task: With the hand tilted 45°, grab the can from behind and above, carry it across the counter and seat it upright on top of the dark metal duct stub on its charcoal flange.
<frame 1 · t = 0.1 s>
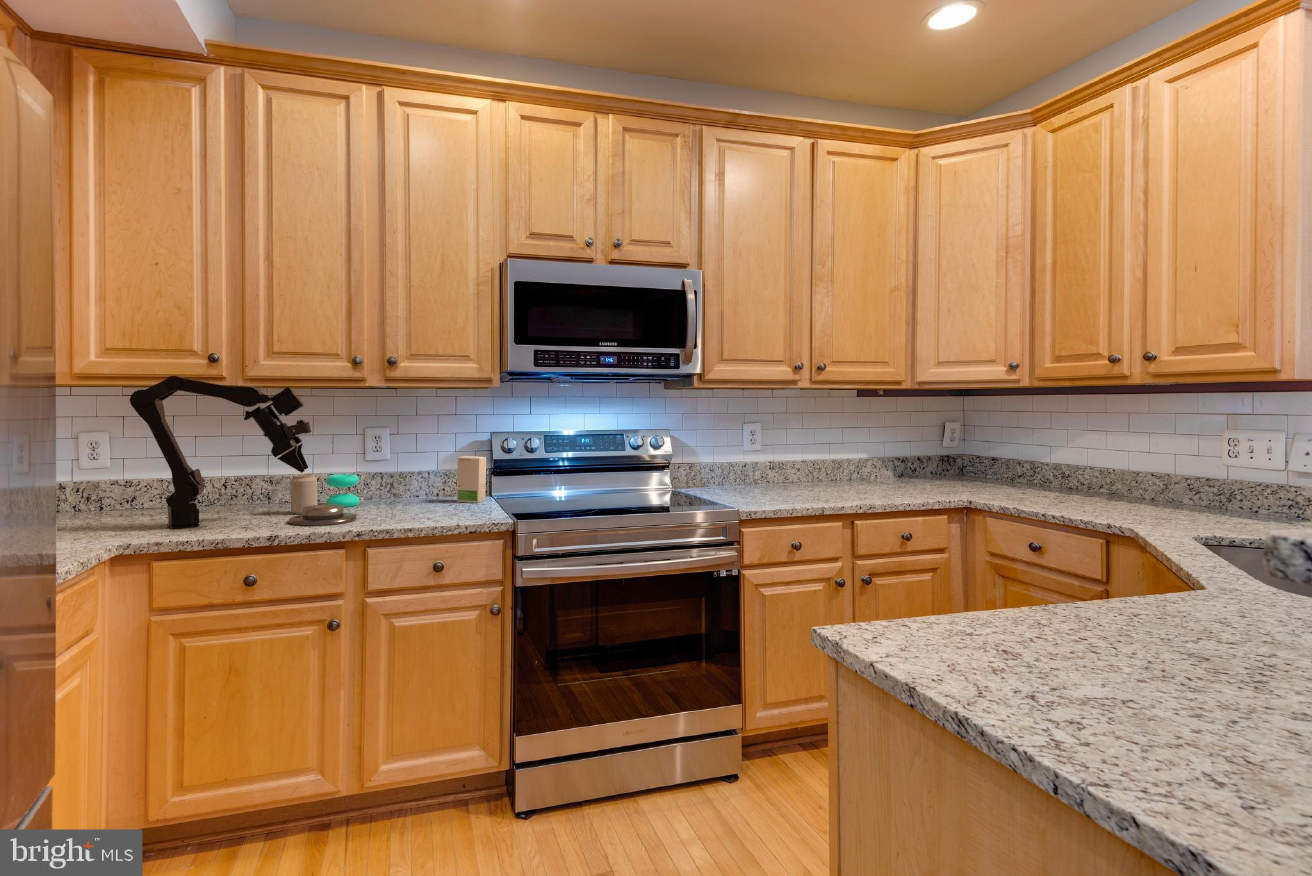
hand: (305, 470, 216), 15 cm above the table, tool tilted 35°, fingers open, 9 cm apart
skincare box: (471, 502, 258), on the table
can: (304, 513, 231), on the table
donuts: (343, 506, 246), on the table
duct stub: (323, 520, 218), on the table
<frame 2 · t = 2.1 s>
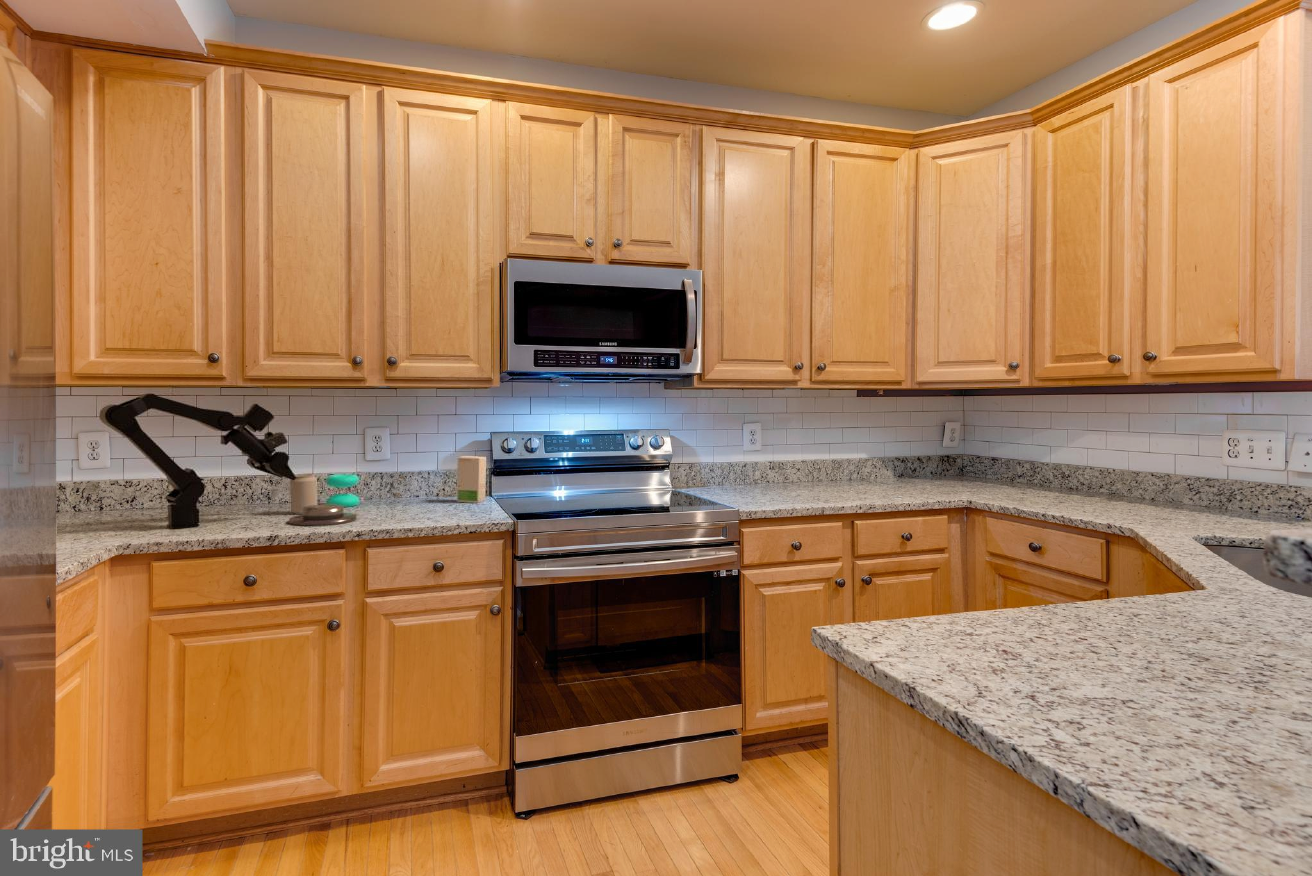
hand: (288, 477, 227), 11 cm above the table, tool tilted 45°, fingers open, 9 cm apart
nothing on the table moved.
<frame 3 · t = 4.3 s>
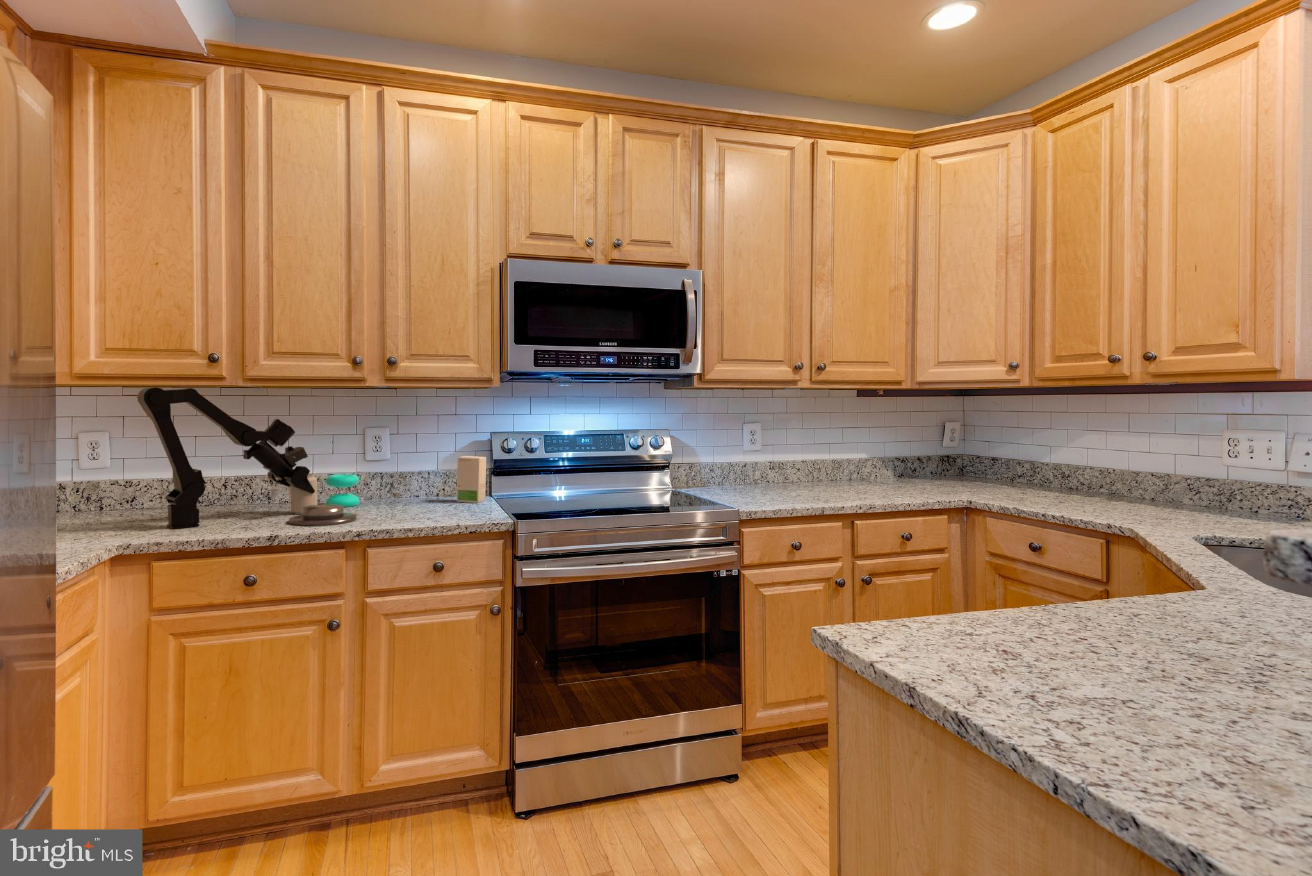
hand: (308, 491, 232), 7 cm above the table, tool tilted 45°, fingers closed on can, 7 cm apart
can: (304, 513, 231), on the table, touching gripper
everything else where it was.
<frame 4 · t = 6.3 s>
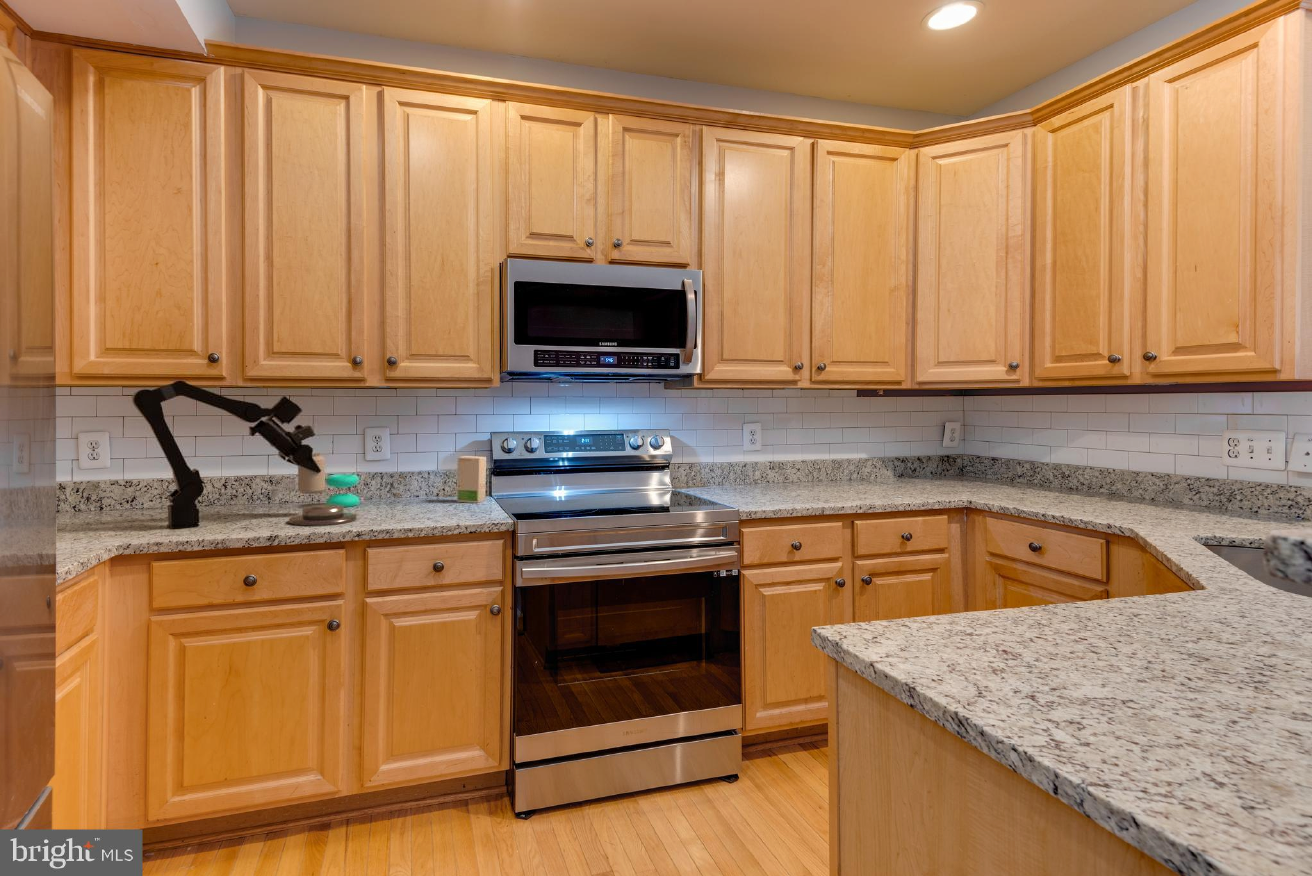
hand: (316, 470, 228), 13 cm above the table, tool tilted 45°, fingers closed on can, 7 cm apart
can: (311, 493, 228), point 7 cm above the table, touching gripper
everything else where it was.
when the fingers open (11 cm above the table, at t = 8.2 s): can stays where it is, resting on duct stub.
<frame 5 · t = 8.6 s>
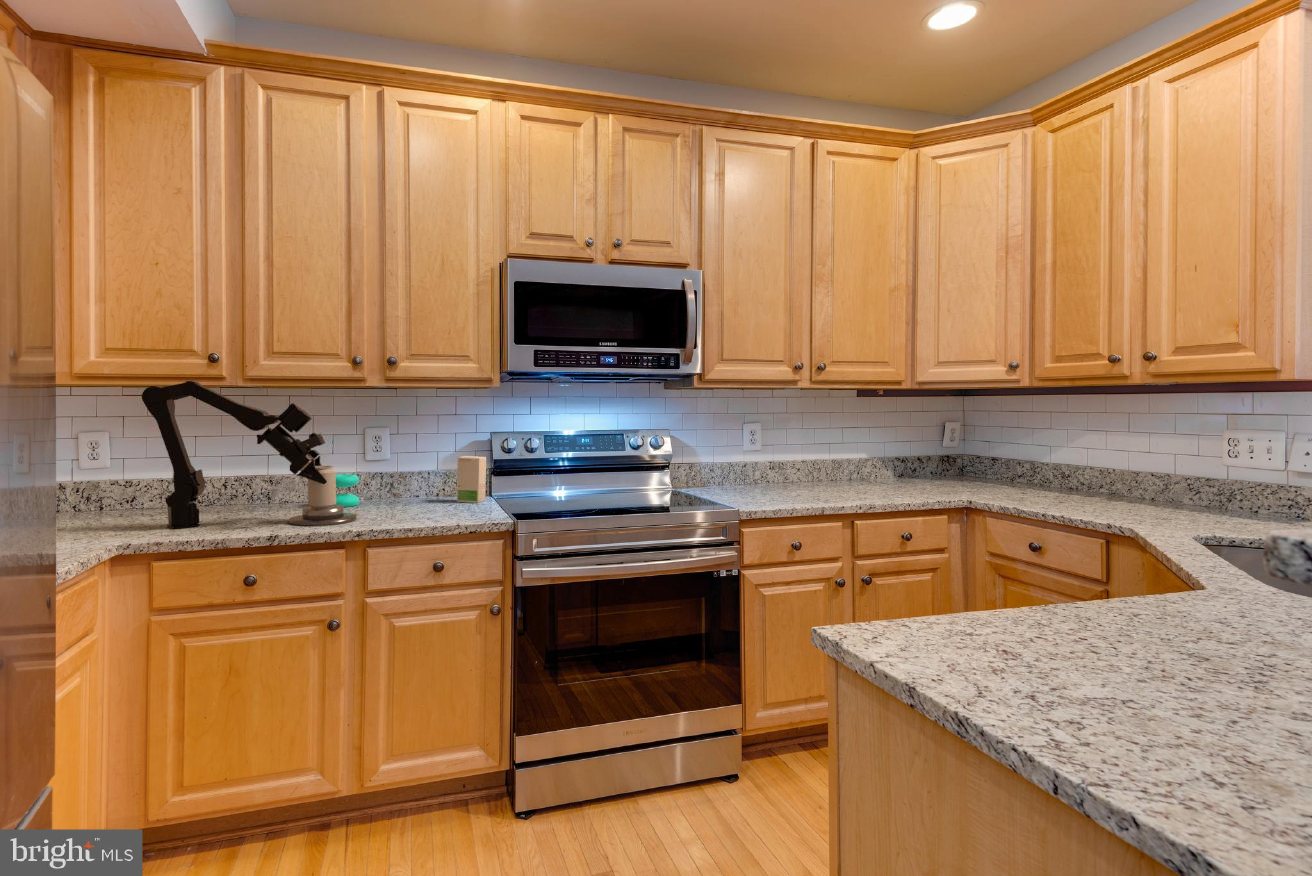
hand: (327, 481, 218), 12 cm above the table, tool tilted 45°, fingers open, 9 cm apart
can: (322, 507, 218), point 4 cm above the table, touching duct stub
everything else where it was.
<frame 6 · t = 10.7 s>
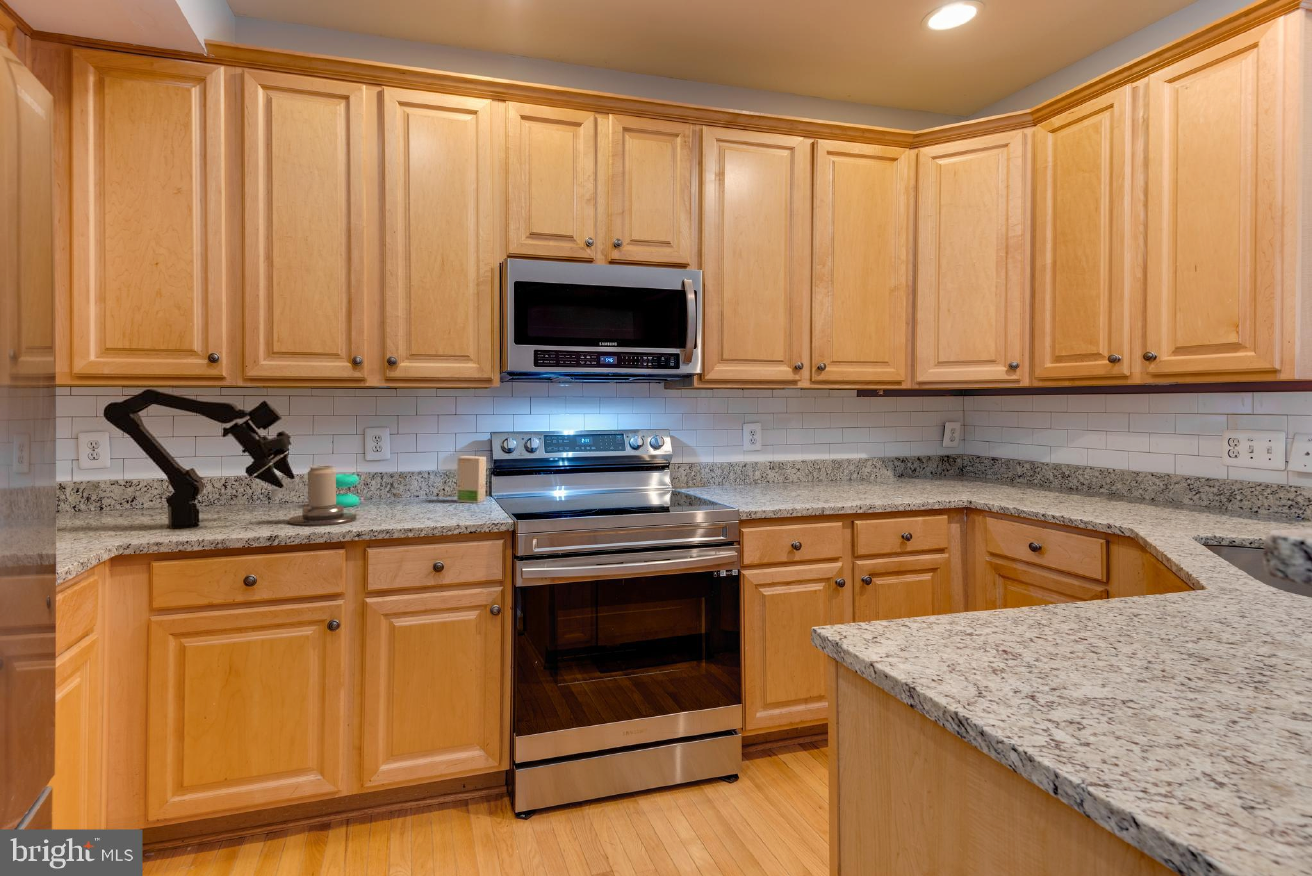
hand: (288, 482, 216), 11 cm above the table, tool tilted 35°, fingers open, 9 cm apart
nothing on the table moved.
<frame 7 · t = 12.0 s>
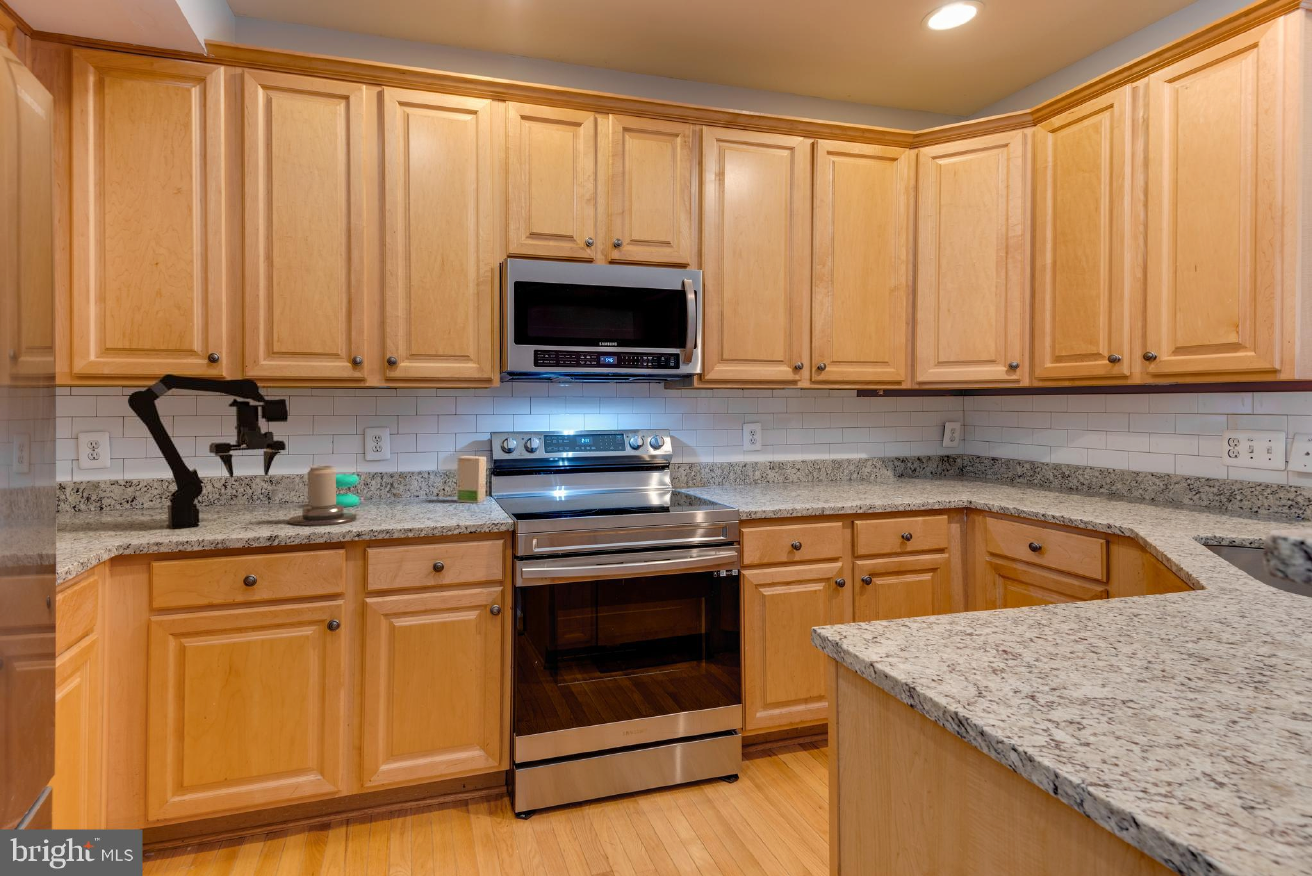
hand: (249, 476, 215), 13 cm above the table, tool pointing down, fingers open, 9 cm apart
nothing on the table moved.
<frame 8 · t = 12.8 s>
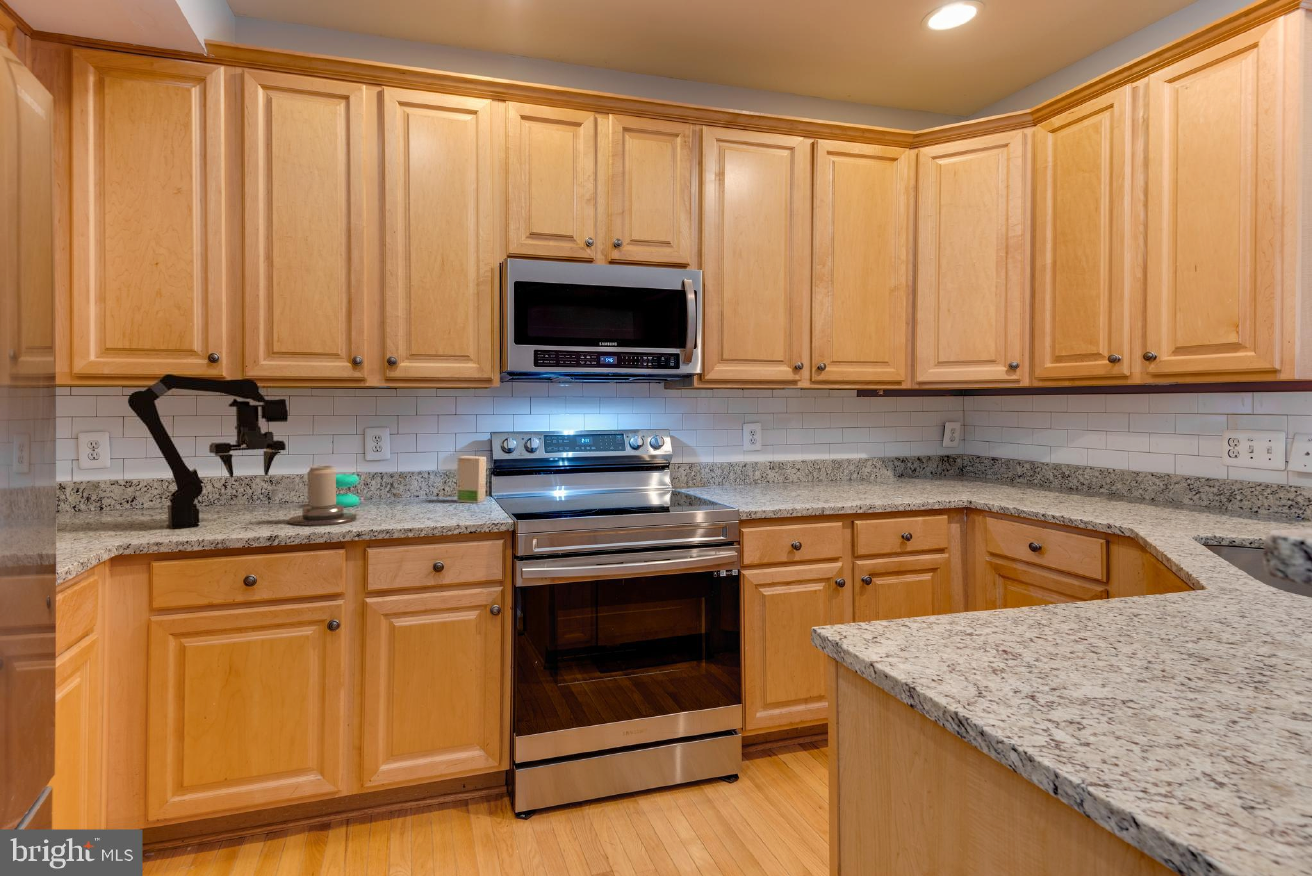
hand: (249, 476, 215), 13 cm above the table, tool pointing down, fingers open, 9 cm apart
nothing on the table moved.
at the end: can inside the target area on the duct stub (0.1 cm from its centre), point 3.8 cm above the duct stub's base; can tilted 0°; the gripper is holding nothing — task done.
